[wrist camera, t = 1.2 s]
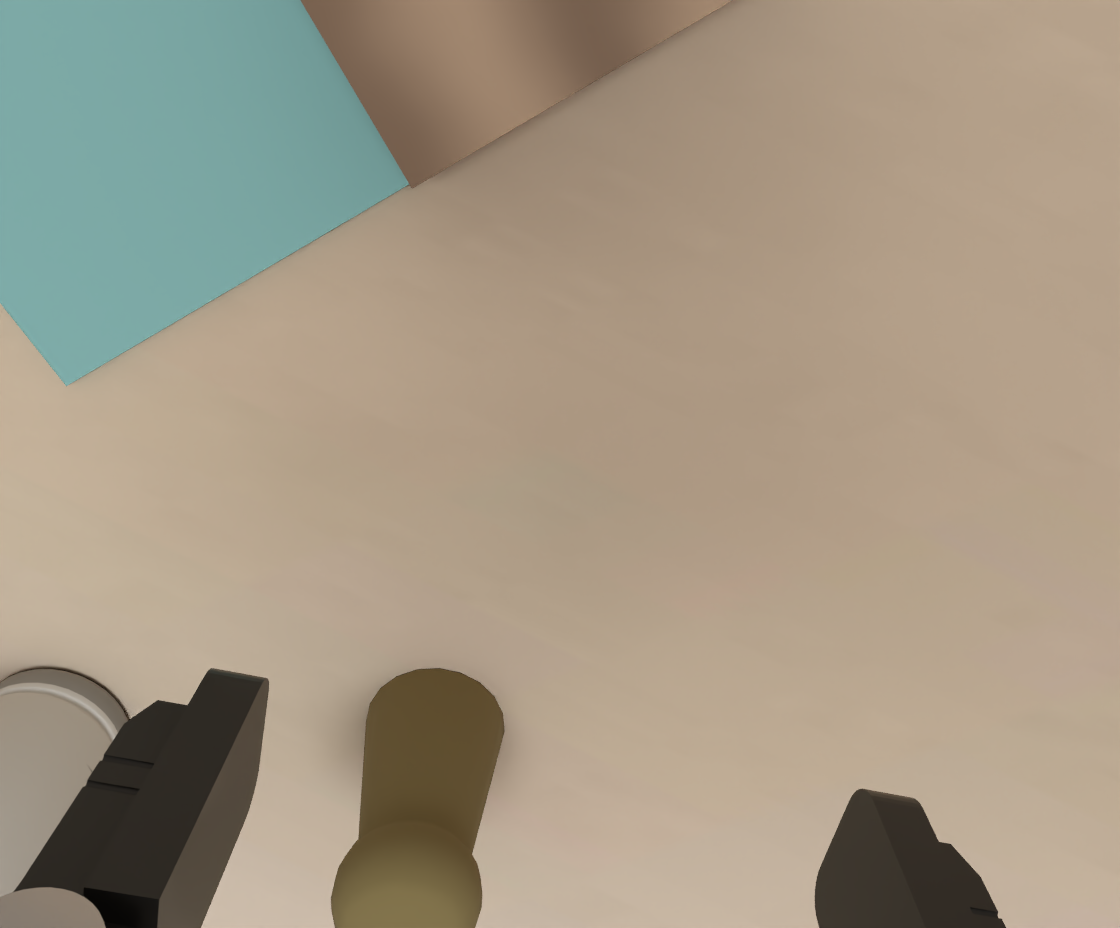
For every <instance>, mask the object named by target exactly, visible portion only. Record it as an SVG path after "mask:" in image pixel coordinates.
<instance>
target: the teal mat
mask: <svg viewBox="0 0 1120 928" xmlns="http://www.w3.org/2000/svg"><path fill="white" fill-rule="evenodd" d="M407 185H409V183H408V181H407V179H406V178H405V176H404V174H403V173H402V171H401V169H400V168H399V166H398V164H397V163H396V161H395V159H394V157H393V156H392V154H391V152H390V151H389V149H388V147H387V146H386V144H385V142H384V141H383V139H382V137H381V136H380V134H379V132H378V130H377V129H376V127H375V125H374V124H373V122H372V120H371V119H370V117H369V115H368V114H367V112H366V110H365V109H364V107H363V105H362V103H361V102H360V100H359V98H358V97H357V95H356V93H355V92H354V90H353V88H352V87H351V85H350V83H349V82H348V80H347V78H346V76H345V75H344V73H343V71H342V70H341V68H340V66H339V65H338V63H337V61H336V60H335V58H334V56H333V55H332V53H331V51H330V49H329V48H328V46H327V44H326V43H325V41H324V39H323V38H322V36H321V34H320V33H319V31H318V29H317V28H316V26H315V24H314V22H313V21H312V19H311V17H310V16H309V14H308V12H307V11H306V9H305V7H304V6H303V4H302V2H301V1H300V0H0V303H1V305H2V306H3V307H4V308H5V310H6V311H7V312H8V313H9V315H10V316H11V317H12V318H13V320H14V321H15V322H16V323H17V325H18V326H19V327H20V328H21V330H22V331H23V332H24V333H25V335H26V336H27V337H28V338H29V340H30V341H31V342H32V344H33V345H34V346H35V347H36V349H37V350H38V351H39V352H40V354H41V355H42V356H43V357H44V359H45V360H46V361H47V362H48V364H49V365H50V366H51V367H52V369H53V370H54V371H55V372H56V374H57V375H58V376H59V377H60V379H61V380H62V381H63V382H64V384H65V385H66V386H67V385H69V384H71V383H72V382H74V381H76V380H77V379H79V378H81V377H83V376H84V375H86V374H88V373H89V372H91V371H93V370H94V369H96V368H98V367H100V366H101V365H103V364H105V363H106V362H108V361H110V360H111V359H113V358H115V357H117V356H118V355H120V354H122V353H123V352H125V351H127V350H128V349H130V348H132V347H134V346H135V345H137V344H139V343H140V342H142V341H144V340H145V339H147V338H149V337H151V336H152V335H154V334H156V333H157V332H159V331H161V330H162V329H164V328H166V327H168V326H169V325H171V324H173V323H174V322H176V321H178V320H179V319H181V318H183V317H185V316H186V315H188V314H190V313H191V312H193V311H195V310H196V309H198V308H200V307H202V306H203V305H205V304H207V303H208V302H210V301H212V300H213V299H215V298H217V297H219V296H220V295H222V294H224V293H225V292H227V291H229V290H230V289H232V288H234V287H236V286H237V285H239V284H241V283H242V282H244V281H246V280H247V279H249V278H251V277H253V276H254V275H256V274H258V273H259V272H261V271H263V270H264V269H266V268H268V267H270V266H271V265H273V264H275V263H276V262H278V261H280V260H281V259H283V258H285V257H287V256H288V255H290V254H292V253H293V252H295V251H297V250H298V249H300V248H302V247H304V246H305V245H307V244H309V243H310V242H312V241H314V240H315V239H317V238H319V237H321V236H322V235H324V234H326V233H327V232H329V231H331V230H332V229H334V228H336V227H338V226H339V225H341V224H343V223H344V222H346V221H348V220H349V219H351V218H353V217H355V216H356V215H358V214H360V213H361V212H363V211H365V210H366V209H368V208H370V207H372V206H373V205H375V204H377V203H378V202H380V201H382V200H383V199H385V198H387V197H389V196H390V195H392V194H394V193H395V192H397V191H399V190H400V189H402V188H404V187H406V186H407Z"/></svg>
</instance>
